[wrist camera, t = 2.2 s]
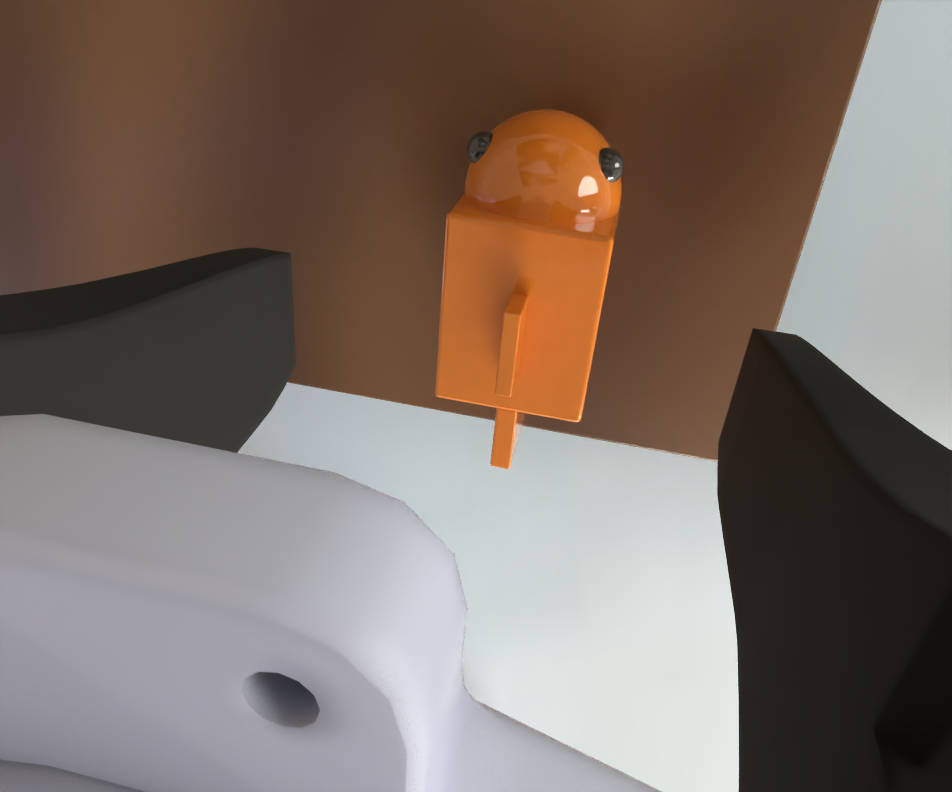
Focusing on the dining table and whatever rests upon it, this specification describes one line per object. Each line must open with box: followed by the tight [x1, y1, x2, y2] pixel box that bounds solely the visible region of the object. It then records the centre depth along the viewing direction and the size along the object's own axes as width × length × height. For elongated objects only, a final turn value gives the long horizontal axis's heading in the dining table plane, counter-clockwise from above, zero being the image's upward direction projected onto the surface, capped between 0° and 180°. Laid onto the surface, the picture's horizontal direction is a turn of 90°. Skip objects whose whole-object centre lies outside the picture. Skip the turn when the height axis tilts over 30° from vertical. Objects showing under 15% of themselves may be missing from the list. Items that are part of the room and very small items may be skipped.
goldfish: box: [435, 108, 624, 469], centre depth 14 cm, size 6×3×4 cm, turn 175°
